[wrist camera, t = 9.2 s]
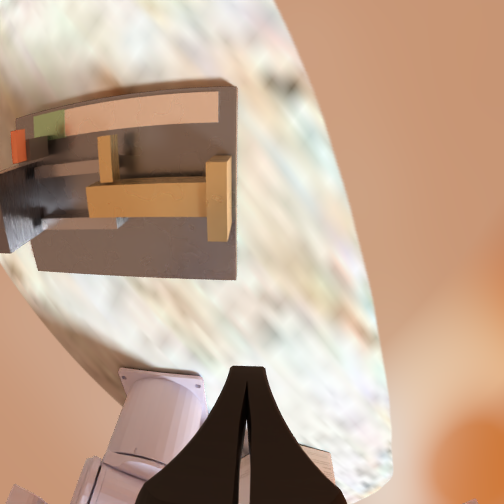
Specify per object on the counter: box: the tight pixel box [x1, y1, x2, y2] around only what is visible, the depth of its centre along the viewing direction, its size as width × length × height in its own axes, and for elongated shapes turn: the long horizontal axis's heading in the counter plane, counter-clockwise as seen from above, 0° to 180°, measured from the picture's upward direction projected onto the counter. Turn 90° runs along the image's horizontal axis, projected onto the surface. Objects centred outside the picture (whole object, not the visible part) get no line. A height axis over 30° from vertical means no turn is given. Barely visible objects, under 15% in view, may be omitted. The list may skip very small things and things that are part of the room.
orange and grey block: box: [11, 129, 49, 164], centre depth 15 cm, size 2×1×3 cm, turn 179°
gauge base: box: [0, 87, 238, 280], centre depth 17 cm, size 12×16×5 cm
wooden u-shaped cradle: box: [86, 134, 232, 242], centre depth 16 cm, size 6×8×3 cm
